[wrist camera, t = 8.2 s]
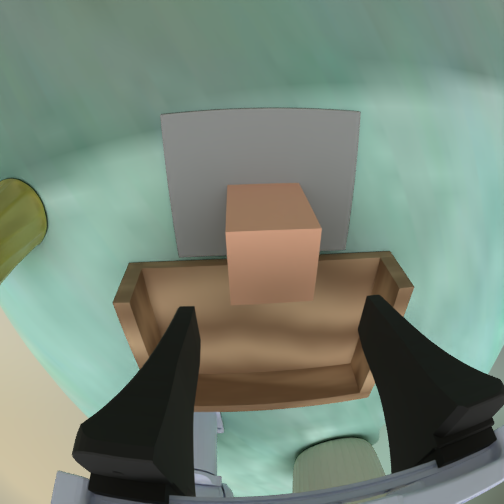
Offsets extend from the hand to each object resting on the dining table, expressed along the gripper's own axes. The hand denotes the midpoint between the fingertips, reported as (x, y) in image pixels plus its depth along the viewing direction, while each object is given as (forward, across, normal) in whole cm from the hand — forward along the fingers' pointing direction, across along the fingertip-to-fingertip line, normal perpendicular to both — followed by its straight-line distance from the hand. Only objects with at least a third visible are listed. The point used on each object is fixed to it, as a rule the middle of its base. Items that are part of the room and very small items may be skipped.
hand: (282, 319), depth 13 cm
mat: (+10, 0, -2) cm, 10 cm away
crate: (+10, 0, +10) cm, 14 cm away
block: (+10, 0, 0) cm, 10 cm away
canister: (+10, -12, +44) cm, 46 cm away
